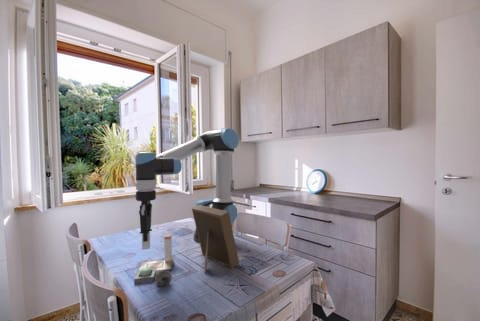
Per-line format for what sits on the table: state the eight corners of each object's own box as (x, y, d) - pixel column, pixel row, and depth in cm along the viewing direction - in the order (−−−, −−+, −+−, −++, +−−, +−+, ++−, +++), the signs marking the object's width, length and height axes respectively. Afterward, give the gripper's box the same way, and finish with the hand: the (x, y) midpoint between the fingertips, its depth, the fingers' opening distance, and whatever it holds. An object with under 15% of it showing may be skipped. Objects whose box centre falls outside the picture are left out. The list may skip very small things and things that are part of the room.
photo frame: (209, 251, 115) (208, 203, 115) (239, 265, 99) (238, 209, 99) (183, 261, 104) (182, 208, 104) (212, 278, 89) (211, 215, 89)
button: (152, 272, 92) (151, 266, 92) (150, 277, 88) (150, 271, 88) (141, 273, 92) (141, 267, 92) (139, 279, 88) (139, 272, 88)
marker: (172, 259, 105) (171, 234, 104) (171, 262, 102) (170, 236, 102) (165, 260, 104) (165, 234, 104) (165, 263, 101) (164, 236, 101)
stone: (154, 279, 91) (143, 273, 85) (163, 266, 94) (153, 260, 88) (170, 292, 86) (159, 288, 80) (179, 279, 89) (169, 273, 83)
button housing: (156, 272, 94) (156, 268, 94) (153, 281, 87) (153, 276, 87) (138, 275, 93) (138, 270, 93) (134, 284, 86) (134, 279, 86)
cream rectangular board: (173, 260, 106) (173, 258, 106) (171, 270, 96) (171, 268, 96) (141, 263, 103) (141, 262, 103) (136, 274, 93) (136, 272, 93)
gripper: (140, 188, 97) (140, 243, 97) (131, 192, 84) (131, 255, 84) (158, 188, 98) (158, 242, 98) (152, 191, 85) (152, 254, 85)
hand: (146, 248), depth 91 cm, fingers closed
